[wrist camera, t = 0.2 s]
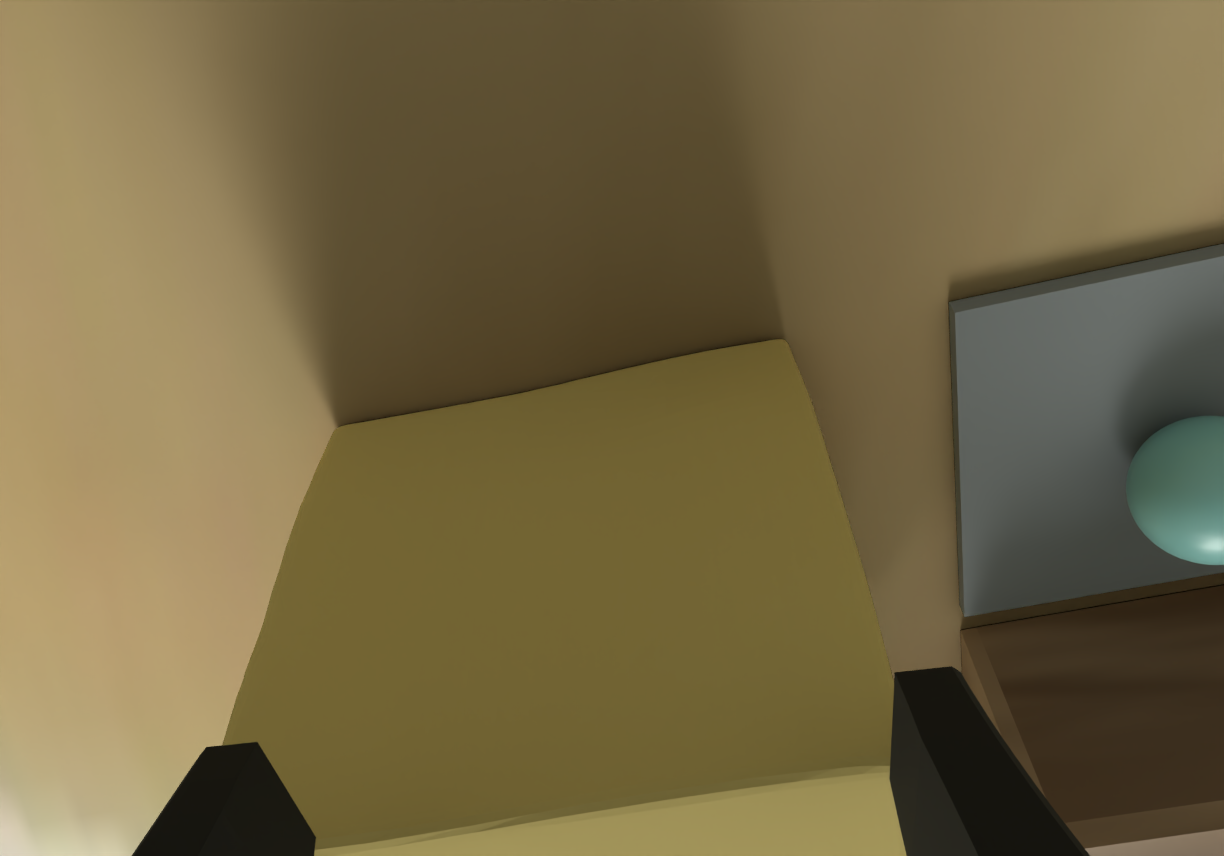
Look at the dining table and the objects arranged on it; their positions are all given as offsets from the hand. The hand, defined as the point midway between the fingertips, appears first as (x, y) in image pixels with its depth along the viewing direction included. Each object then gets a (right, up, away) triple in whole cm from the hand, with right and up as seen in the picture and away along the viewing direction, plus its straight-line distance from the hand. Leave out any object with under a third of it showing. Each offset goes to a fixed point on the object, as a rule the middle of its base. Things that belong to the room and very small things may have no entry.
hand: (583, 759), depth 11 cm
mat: (+14, +4, +10) cm, 18 cm away
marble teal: (+12, +4, +10) cm, 16 cm away
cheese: (0, +1, +12) cm, 12 cm away
